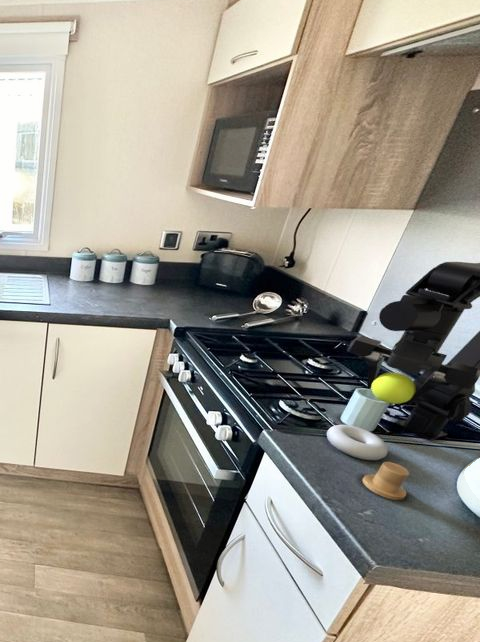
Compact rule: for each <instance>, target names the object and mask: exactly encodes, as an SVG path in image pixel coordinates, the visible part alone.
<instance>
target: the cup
mask: <svg viewBox="0 0 480 642" xmlns="http://www.w3.org/2000/svg"><path fill="white" fill-rule="evenodd" d="M390 405H391V403H386V402H383V401H381V400H379V399H378V398H377V397H376V396H375V395H374V394H373V392H372V389H371V388H370V389H367V388H364V387H357V388H355V390H354V391H353V393H352V395H351V396H350V399H349V401H348V403H347V404H346V407H345V408H344V411H343V412H342V414H341V416H340V421H341V422H342V423H343V424H344V425H350V426H355V427H358V428H361V429H364V430H367V431H369V432H373V431H375V429H376V428H377V426H378V424H379V423H380V421H381V419H382V418H383V416H384V414H385V413H386V411H387V409H389V406H390Z"/></svg>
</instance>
